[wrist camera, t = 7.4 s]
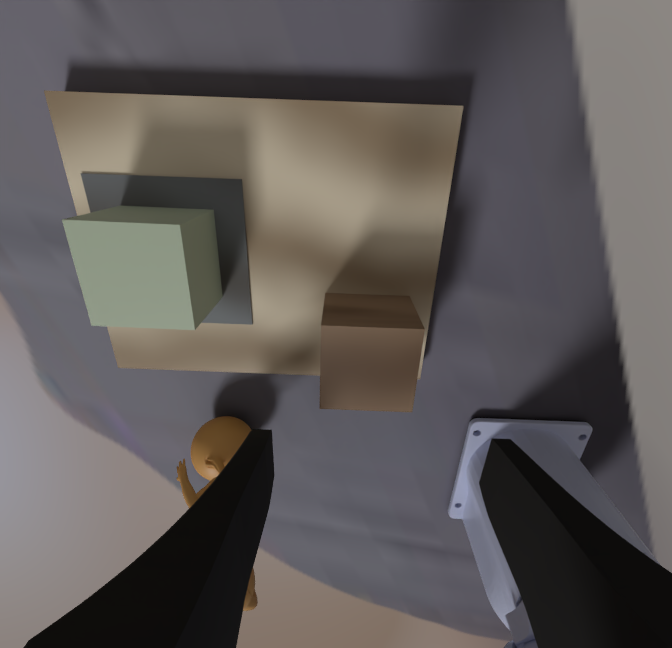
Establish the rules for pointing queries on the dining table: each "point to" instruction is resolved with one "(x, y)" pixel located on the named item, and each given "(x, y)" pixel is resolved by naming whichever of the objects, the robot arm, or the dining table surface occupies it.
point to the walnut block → (369, 352)
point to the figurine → (216, 466)
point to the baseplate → (270, 209)
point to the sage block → (146, 265)
